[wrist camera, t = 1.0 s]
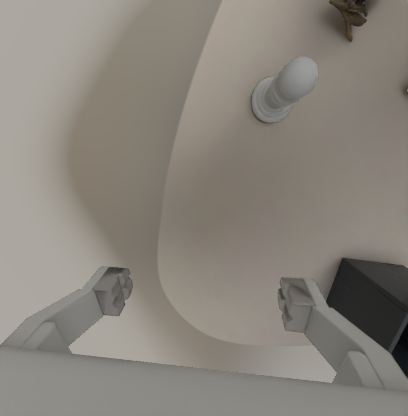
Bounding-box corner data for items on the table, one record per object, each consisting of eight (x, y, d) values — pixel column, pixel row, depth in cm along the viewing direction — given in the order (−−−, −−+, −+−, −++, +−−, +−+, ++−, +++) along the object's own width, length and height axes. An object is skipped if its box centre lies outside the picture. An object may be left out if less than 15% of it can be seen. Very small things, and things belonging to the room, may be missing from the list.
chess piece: (242, 96, 25) (262, 66, 16) (278, 67, 24) (320, 19, 15) (264, 132, 26) (294, 122, 17) (299, 105, 25) (350, 81, 17)
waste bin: (342, 257, 31) (409, 308, 21) (403, 265, 32) (497, 318, 22) (323, 309, 34) (374, 377, 24) (379, 316, 34) (453, 385, 24)
